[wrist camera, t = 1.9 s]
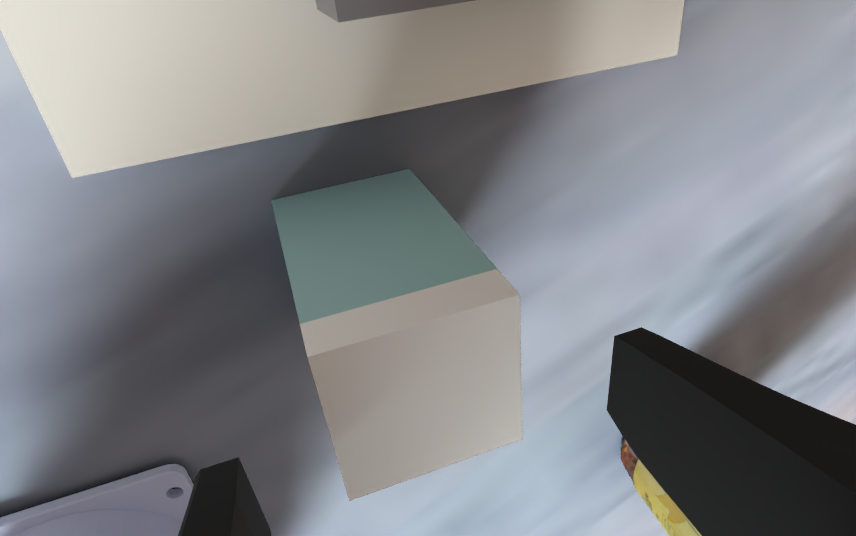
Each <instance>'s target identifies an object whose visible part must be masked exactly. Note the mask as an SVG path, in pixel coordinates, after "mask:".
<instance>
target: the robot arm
mask: <svg viewBox="0 0 856 536" xmlns="http://www.w3.org/2000/svg"><path fill="white" fill-rule="evenodd" d="M607 411H608V413H609V414H610V416H611V418H612V419H613V421H614V422H615V424H616V426H617V427H618V429H619V431H620V432H621V434H622V435H623V437H624V438H625V440H626V441H627V443H628V444H629V446H630V447H631V449H632V450H633V452H634V454H635V455H636V456H637V458H638V459H639V460H640V461H641V463H642V464H643V465H644V466H645V468H646V469H647V470H648V471H649V472H650V474H651V475H652V476H653V477H654V479H655V480H656V481H657V482H658V483H659V485H660V486H661V487H662V488H663V490H664V491H665V492H666V493H667V494H668V496H669V497H670V498H671V499H672V500H673V502H674V503H675V504H676V505H677V506H678V508H679V509H680V510H681V511H682V512H683V514H684V515H685V516H686V517H687V519H688V520H689V521H690V522H691V523H692V525H693V526H694V527H695V528H696V529H697V531H698V532H699V533H700V534H701V535H702V536H856V425H855V424H852V423H850V422H847V421H845V420H842V419H840V418H837V417H835V416H832V415H830V414H827V413H825V412H823V411H820V410H818V409H816V408H813V407H811V406H808V405H806V404H804V403H801V402H799V401H797V400H794V399H792V398H790V397H787V396H785V395H783V394H781V393H779V392H776V391H774V390H772V389H770V388H767V387H765V386H763V385H761V384H759V383H757V382H754V381H752V380H750V379H748V378H746V377H744V376H742V375H740V374H737V373H735V372H733V371H731V370H729V369H727V368H725V367H723V366H721V365H719V364H717V363H715V362H713V361H711V360H709V359H707V358H704V357H702V356H700V355H698V354H696V353H694V352H692V351H690V350H688V349H686V348H684V347H682V346H680V345H678V344H676V343H674V342H672V341H670V340H668V339H666V338H663V337H661V336H659V335H657V334H655V333H653V332H650V331H648V330H646V329H644V328H638V329H635V330H632V331H629V332H626V333H623V334H620V335H617V336H614V346H613V355H612V365H611V375H610V385H609V394H608V404H607ZM174 487H178V488H177V489H171V488H174ZM0 536H271V532H270V528H269V526H268V523H267V521H266V519H265V517H264V514H263V512H262V510H261V507H260V505H259V503H258V501H257V498H256V496H255V494H254V491H253V489H252V487H251V485H250V482H249V480H248V478H247V476H246V473H245V471H244V469H243V466H242V464H241V462H240V460H239V457H238V458H235V459H232V460H229V461H226V462H223V463H219V464H216V465H213V466H210V467H207V468H204V469H201V470H200V472H199V473H198V474H197V476H196V479H195V482H194V484H193V482H192V481H191V479H190V477H189V475H188V473H187V471H186V469H185V468H184V467H183V466H180V465H178V464H168V465H163V466H160V467H157V468H154V469H151V470H148V471H145V472H142V473H138V474H135V475H132V476H129V477H126V478H123V479H120V480H116V481H113V482H110V483H107V484H104V485H101V486H98V487H94V488H91V489H88V490H85V491H82V492H79V493H76V494H72V495H69V496H66V497H63V498H60V499H57V500H54V501H51V502H47V503H44V504H41V505H38V506H35V507H32V508H29V509H25V510H22V511H19V512H16V513H13V514H10V515H7V516H3V517H0Z"/></svg>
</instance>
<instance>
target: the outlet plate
mask: <svg viewBox="0 0 856 536" xmlns="http://www.w3.org/2000/svg"><path fill="white" fill-rule="evenodd" d="M683 8H684V0H0V30H1V32H2V34H3V36H4V38H5V40H6V42H7V45H8V47H9V49H10V51H11V53H12V55H13V57H14V59H15V61H16V63H17V65H18V67H19V69H20V71H21V73H22V76H23V78H24V80H25V82H26V84H27V86H28V88H29V90H30V92H31V94H32V96H33V98H34V100H35V102H36V104H37V107H38V109H39V111H40V113H41V115H42V117H43V119H44V121H45V123H46V125H47V127H48V129H49V131H50V133H51V135H52V138H53V140H54V142H55V144H56V146H57V148H58V150H59V152H60V154H61V156H62V158H63V160H64V162H65V164H66V166H67V169H68V171H69V173H70V175H71V177H72V178H75V177H80V176H85V175H90V174H95V173H100V172H105V171H109V170H114V169H119V168H124V167H129V166H134V165H139V164H144V163H149V162H154V161H159V160H164V159H169V158H174V157H178V156H183V155H188V154H193V153H198V152H203V151H208V150H213V149H218V148H223V147H228V146H233V145H238V144H243V143H247V142H252V141H257V140H262V139H267V138H272V137H277V136H282V135H287V134H292V133H297V132H302V131H307V130H312V129H316V128H321V127H326V126H331V125H336V124H341V123H346V122H351V121H356V120H361V119H366V118H371V117H376V116H380V115H385V114H390V113H395V112H400V111H405V110H410V109H415V108H420V107H425V106H430V105H435V104H440V103H445V102H449V101H454V100H459V99H464V98H469V97H474V96H479V95H484V94H489V93H494V92H499V91H504V90H509V89H514V88H518V87H523V86H528V85H533V84H538V83H543V82H548V81H553V80H558V79H563V78H568V77H573V76H578V75H583V74H587V73H592V72H597V71H602V70H607V69H612V68H617V67H622V66H627V65H632V64H637V63H642V62H647V61H652V60H656V59H661V58H666V57H671V56H676V55H677V53H678V45H679V38H680V30H681V23H682V15H683Z"/></svg>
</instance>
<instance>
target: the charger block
mask: <svg viewBox="0 0 856 536" xmlns="http://www.w3.org/2000/svg"><path fill="white" fill-rule="evenodd" d="M271 202H272V207H273V211H274V215H275V220H276V224H277V228H278V233H279V237H280V241H281V246H282V250H283V254H284V259H285V263H286V267H287V271H288V276H289V280H290V284H291V289H292V293H293V297H294V302H295V306H296V310H297V315H298V319H299V323H300V328H301V332H302V336H303V341H304V345H305V349H306V353H307V358H308V361H309V364H310V368H311V371H312V375H313V378H314V382H315V385H316V388H317V392H318V395H319V399H320V402H321V405H322V409H323V412H324V416H325V419H326V423H327V426H328V429H329V433H330V436H331V440H332V443H333V447H334V450H335V453H336V457H337V460H338V464H339V467H340V470H341V474H342V477H343V481H344V484H345V488H346V491H347V494H348V498H349V501H351V500H354V499H356V498H359V497H362V496H365V495H368V494H370V493H373V492H376V491H379V490H382V489H384V488H387V487H390V486H393V485H395V484H398V483H401V482H404V481H407V480H409V479H412V478H415V477H418V476H421V475H423V474H426V473H429V472H432V471H435V470H437V469H440V468H443V467H446V466H449V465H451V464H454V463H457V462H460V461H463V460H465V459H468V458H471V457H474V456H477V455H479V454H482V453H485V452H488V451H491V450H493V449H496V448H499V447H502V446H505V445H507V444H510V443H513V442H516V441H519V440H521V439H522V384H521V325H520V294H519V293H518V292H517V291H516V290H515V288H514V287H513V286H512V285H511V284H510V283H509V282H508V280H507V279H506V278H505V277H504V276H503V275H502V274H501V272H500V271H499V270H498V269H497V268H496V267H495V266H494V264H493V263H492V262H491V261H490V260H489V259H488V258H487V256H486V255H485V254H484V253H483V252H482V251H481V250H480V248H479V247H478V246H477V245H476V244H475V243H474V242H473V240H472V239H471V238H470V237H469V236H468V235H467V234H466V232H465V231H464V230H463V229H462V228H461V227H460V226H459V224H458V223H457V222H456V221H455V220H454V219H453V218H452V216H451V215H450V214H449V213H448V212H447V211H446V210H445V208H444V207H443V206H442V205H441V204H440V203H439V202H438V200H437V199H436V198H435V197H434V196H433V195H432V194H431V192H430V191H429V190H428V189H427V188H426V187H425V186H424V184H423V183H422V182H421V181H420V180H419V179H418V178H417V176H416V175H415V174H414V173H413V172H412V171H411V170H410V169H406V170H402V171H397V172H393V173H389V174H384V175H380V176H375V177H371V178H367V179H362V180H358V181H353V182H349V183H345V184H340V185H336V186H331V187H327V188H323V189H318V190H314V191H309V192H305V193H301V194H296V195H292V196H288V197H283V198H279V199H274V200H271Z"/></svg>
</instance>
